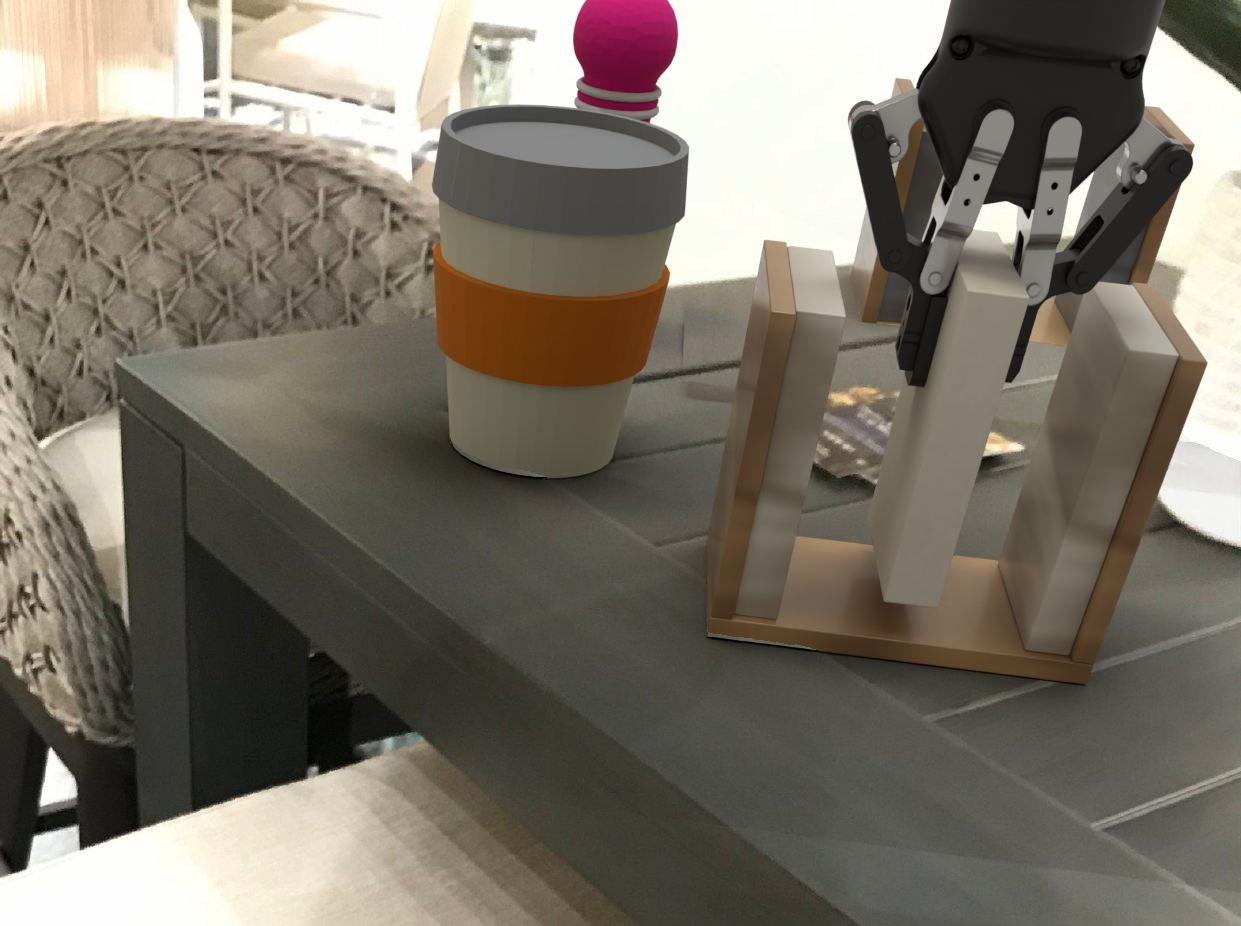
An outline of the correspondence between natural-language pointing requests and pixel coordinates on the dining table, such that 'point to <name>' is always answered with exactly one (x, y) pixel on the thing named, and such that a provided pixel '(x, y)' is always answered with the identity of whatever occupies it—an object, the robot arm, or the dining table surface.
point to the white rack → (974, 588)
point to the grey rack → (917, 190)
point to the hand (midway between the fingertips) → (950, 383)
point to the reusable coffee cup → (550, 276)
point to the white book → (946, 426)
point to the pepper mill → (623, 55)
